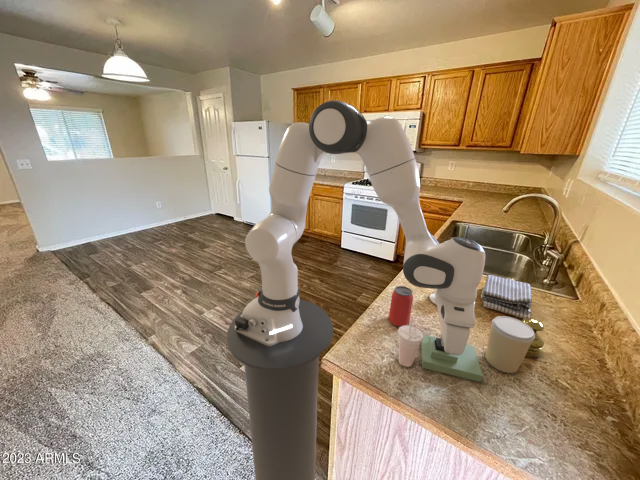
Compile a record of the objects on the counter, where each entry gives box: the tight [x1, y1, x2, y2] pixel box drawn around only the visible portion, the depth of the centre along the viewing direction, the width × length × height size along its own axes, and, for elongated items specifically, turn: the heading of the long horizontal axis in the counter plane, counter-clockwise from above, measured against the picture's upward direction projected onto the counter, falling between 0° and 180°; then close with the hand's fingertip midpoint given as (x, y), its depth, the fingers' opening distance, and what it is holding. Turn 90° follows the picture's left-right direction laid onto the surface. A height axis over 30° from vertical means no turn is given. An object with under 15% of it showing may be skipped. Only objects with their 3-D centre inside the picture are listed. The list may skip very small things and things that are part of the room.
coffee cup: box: [484, 315, 535, 374], centre depth 71 cm, size 9×9×12 cm
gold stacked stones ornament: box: [521, 318, 545, 358], centre depth 76 cm, size 7×7×10 cm
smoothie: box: [397, 316, 424, 368], centre depth 70 cm, size 6×6×14 cm
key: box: [435, 336, 445, 352], centre depth 72 cm, size 4×4×2 cm
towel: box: [480, 274, 533, 320], centre depth 99 cm, size 15×18×8 cm
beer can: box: [388, 285, 414, 328], centre depth 86 cm, size 7×7×12 cm
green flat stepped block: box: [420, 334, 484, 383], centre depth 73 cm, size 14×11×4 cm
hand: (443, 343), depth 72 cm, fingers closed, pressing on key
